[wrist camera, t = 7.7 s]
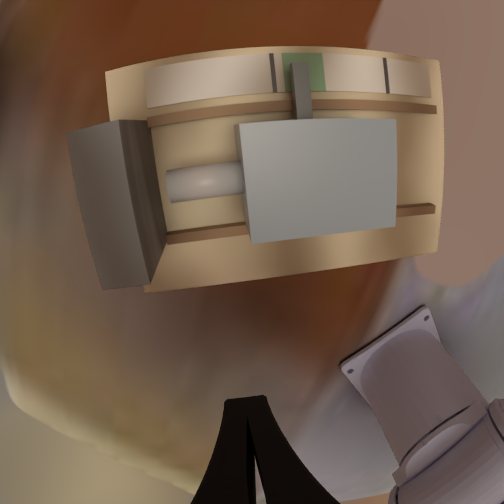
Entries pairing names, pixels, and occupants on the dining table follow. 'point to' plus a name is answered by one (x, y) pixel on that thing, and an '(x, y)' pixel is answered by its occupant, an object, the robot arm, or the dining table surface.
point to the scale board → (224, 150)
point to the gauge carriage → (303, 173)
